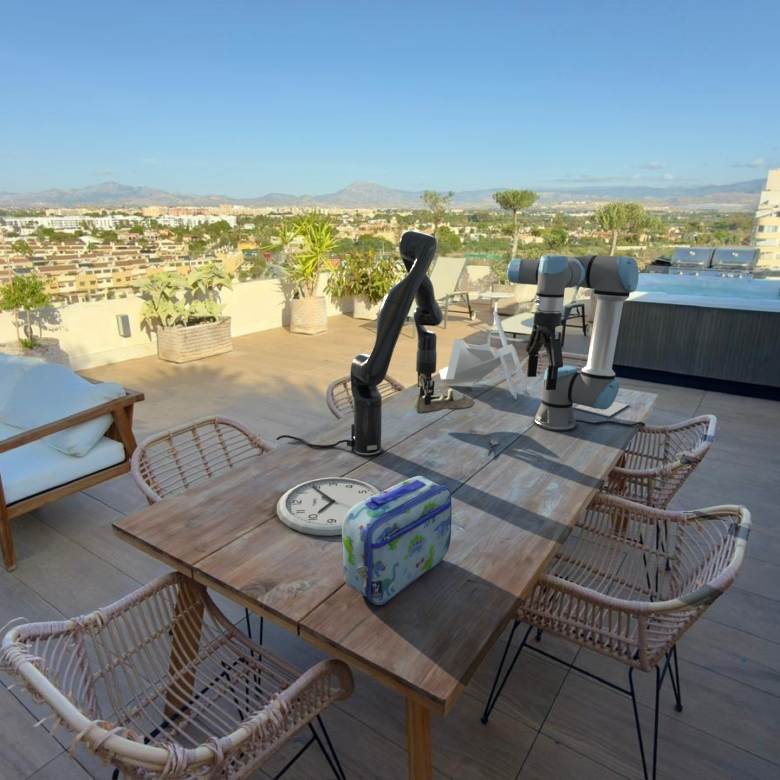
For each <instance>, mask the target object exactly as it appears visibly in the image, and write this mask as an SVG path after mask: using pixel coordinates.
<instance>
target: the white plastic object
mask: <svg viewBox="0 0 780 780" xmlns="http://www.w3.org/2000/svg"><path fill="white" fill-rule="evenodd" d="M492 315H493V319H494V321H495V324H496V325H495V326H496V328H497V332H498V335H499V338H500V342H501V345H502V347H500V348H498V349H496V350H495V349H493V348H492V347H491V346H490V344H489V343H488V342H487V343H483V344H479V345H473V346H469V345H468V343H466V342H465V340H464V339H463V338H460V339H458V338H454V340H453V344H452V349H451V353H450V357H449V362H448V366H446V367H444V368H442V369H440V370H439V371H438V372H439V376H440V381H442V383H443V384H444V385H445V386H449V385H458V384H467V383H468V384H469V383H473V384H477V383H480V382H482V381H484V378H485V377H486V376H487V375H489V374H490V373H492V372H494V371H495V370H496V369H497V368H499V367H500V366H502V370H503V373H504V376H505V380H506V383H507V386H508V390H509V393H510V394H511V395H512V397H513V398H514V399H515V400H517V392H516V391H517V390H516V388H515V385H514V381H513V378H512V375H511V371H510V369H509V365H508V361H510V360H513V363H514V366H515V369H516V372H517V376H518V380H519V382H520V385H521V389H522V391H523V393H524V395H525V396H526V397H528V396H531V395H530V390H529V388H528V387H529V386H528V384H527V381H526V378H525V375H524V371H523V369H522V368H523V367H522V366H521V362H520V359H519V355H518V352H517V349H516V347H515V346H514V345H513V343H511V344H508V341H507V337H506V334H505V331H504V328H503V325H502V321H501V318H500V315H499V314H498V312H497V311H496V310H495V311H492Z"/></svg>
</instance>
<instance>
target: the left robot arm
mask: <svg viewBox="0 0 780 780" xmlns="http://www.w3.org/2000/svg"><path fill="white" fill-rule="evenodd" d="M437 249H438V239H437V238H436V237H435V236H433V235H430V234H427V233H423V232H419V231H415V230H406V231H404V233H403V234H402V235H401V237H400V240H399V243H398V252H399V255H400V258H401V261H402V263H403V266H404V268H405V270H406V271H405V272H406V276H404V277H403V278H402V279H401V280H400V281H399V282H397V283H396V284H395V285H393V286H392V287H391V288H390V289H389V290H388V291H387V292H386V293H385V294H384V297H383V299H382V301H381V303H380V306H379V308H378V311H377V316H376V335H375V336H376V337H375V340H374V341H375V342H374V344H373V347H372V349H371V352H370V354H368V353H360V354H358V355H356V356H355V357H354V358H353V360H352V361H351V365H350V391H351V396H352V398H353V423H352V424H351V428H350V431H351V433H350V435H351V436H350V437H348V438H347V439H341V440H338V441H336V442H335V443H332V444H315V443H314V444H312V443H310V442H308V441H306V440H305V439H303V438H301V437H296V436H293V435H289V434H283V435H282V434H281V435H280V436H278V437H276V439H275V441H279V440H281V439H283V438H286V439H292V440H295V441H299V442H302V443H303V444H305V445H306V446H308V447H312V448H320V449H324V448H333V447H336V446H338V445H340V444H342V443H346V446H347V447H351V451H352V452H353V453H354V454H356V455H359V456H361V457H362V456H363V457H374V456H377V455H379V454H381V453H382V412H383V411H382V409H383V406H382V404H383V403H382V402H383V401H382V399H383V398H382V397H383V396H382V394H381V392H380V391H379V389H378V387H377V386H379V385H380V384H382V383H383V381H384V380H385V378H386V376H387V373H388V371H389V367H390V364H391V360H392V357H393V353H394V350H395V348H396V345H397V342H398V340H399V337H400V335H401V332H402V329H403V328H404V325H405V323H406V321H407V318H408V315H409V313H410V311H411V308H412V305H413V303H415V305H416V307H415V308H414V310H413V315H412V318H413V322H414V326H415V329H416V330H415V331H416V335H417V344H416V345H417V346H416V347H417V349H416V360H415V361H416V362H415V363H416V364H415V372H417V374H416V375H417V388H418V390H419V395H421V396H424V395H425V405H430V404H431V397H432V396H434V395H435V394H434V391H435V384H436V383H435V380H433V377H432V374H435V373H436V372H437V357H438V356H437V341H438V339H437V334H436V333H435V332H433V331H430V330H428V329H426V327H438V326H440V325H441V324H442V322H443V312H442V309H441V307H440V305H439V303H438V301H437V299H436V296H435V295H436V294H435V289H434V284H433V282H432V280H431V278H430V277H429V275H428V273H427V272H428V271H429V268H430V267H431V264H432V262H433V260H434V258H435V256H436V253H437ZM414 301H415V302H414ZM433 394H434V395H433ZM431 395H432V396H431Z"/></svg>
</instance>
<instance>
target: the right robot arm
mask: <svg viewBox="0 0 780 780" xmlns="http://www.w3.org/2000/svg"><path fill="white" fill-rule="evenodd" d="M639 273H640V272H639V265H638V262H637V261H636V259H635V258H633V257H630V256H623V255H598V254H597V255H596V254H586V255H578V256H568V257H567V256H566V255H561V254H560V255H559V254H556V255H555V254H545V255H541V257H540V259H539V258H538V259H537V258H536V259H535V258H533V259H532V258H530V259H529V258H513V259H511V260H510V261H509V263H508V265H507V269H506V277H507V279H508V281H509V282H510V283H513V284H517V285H531V286H537V287H536V297H535V299H534V303H535V307H534V310H535V312H534V314H533V324H532V329H531V333H530V335H529V338H528V342H527V344H526V347H525V352H526V353H527V355H528V363H527V371H526V377H527V378H537V373H538V372H537V371H538V363H539V355H540V353H539V352H540V350H541V348H542V347H544V348H545V351H546V356H547V360H548V364H549V365H547V368H546V369H545V371H544V375H543V381H542V382H543V383H542V394H541V402H540V405H539V407H538V410H537V411H536V413H535V417H534V424H535V425H536V426H537V427H539V428H542V429H544V430H549V431H556V432H567V431H572V430H574V429H575V428H576V422H577V423H582V424H588V425H600V424H615V425H619V426H623V427H635V426H637V425H642V426H643V427H644V426H645V427H646V423H644V422H643V421H637V422H635V423H624V422H621V421H620V422H619V421H615V420H614V421H613V420H602V421H601V420H600V421H595V422H594V421H587V420H584V419H583V420H582V419H576V418H575V417H576V416H575V413H574V407H573V405H574V404H575V405H584V406H588V407H592V408H594V409H596V408H597V409H602V410H605V409H608V408H609V407H610V406H611V405H612V404H613V402H615V400H616V398H617V396H618V394H619V389H620V380H618V379H616V372H615V371H614V370H613V363H614V357H615V352H616V346H617V340H618V336H619V329H620V324H621V317H622V313H623V307H624V306H623V305H624V302H625V301H627V300H628V299H629V298H630V294H631V293H634V292H636V290H637V288H638V284H639V275H640V274H639ZM574 287H579V288H584V289H591V290H593V296H594V297H595V298H596V304H595V311H594V318H593V325H592V331H591V336H590V342H589V347H588V348H589V349H588V354H587V361H586V365H585V366H584V367H583V368H581V371H580V372H578V368H577V366H572V365H564V360H563V359H564V358H563V351H562V341H561V340H562V332H560V331H556V328H557V327H560V326H561V325H562V318H563V317H562V316H563V314H562V311H563V310H564V309H563V307H564V302H565V301H564V300H565V290H566V289H569V288H570V289H572V288H574Z"/></svg>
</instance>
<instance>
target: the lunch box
mask: <svg viewBox="0 0 780 780" xmlns="http://www.w3.org/2000/svg"><path fill="white" fill-rule="evenodd" d="M452 511H453V510H452V491H451V489H450V487H449V486H447V485H444V484H442V485H440V484H437V483H436V482H434V481H432V480H430V479H428V478H427V477H425V476H422V475H416V476H413V477H411V478H408V479H406V480H403V481H401V482H399V483H397V484H395V485H393V486H390V487H388V488H386V489H384V490H382V491H381V492H380V493H378V494H376V495H374V496H372V497H370V498H368V499H366V500H364V501H362V502H360V503H358V504H356V505H354V506H353V507H352V508H351V509H350V510H349V511H348V512H347V514H346V516H345V518H344V521H343V525H342V535H341V543H342V544H341V545H342V569H343V578H344V583H345V585H346V586H347V587H349V588H351V589H352V590H354V591H356V592H357V593H360V594H361V595H362V596H363V597H365V598H367V601H369V603H372V604H373V605H376V606H383V605H385V604H386V603H388V602H389V601H390V600H391V599H392V598H394V597H395V596H396V595H397V594H399V593H400V592H401V591H403V590H404V589H406V588H407V587H408V586H410V585H411V584H413V583H414V582H416V580H417V579H418V578H420V576H422V575H423V574H425V573H426V572H428V571H430V570H432V569H433V568H435V567H436V566H438V565H439V564H440V563H441V562H442V561H443V560H444V558H445V557H446V555H447V552H448V551H449V548H450V544H451V539H452V515H453V514H452Z"/></svg>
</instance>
